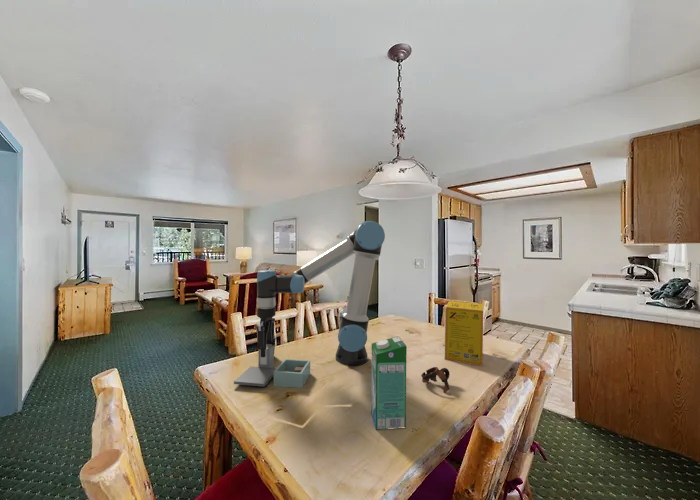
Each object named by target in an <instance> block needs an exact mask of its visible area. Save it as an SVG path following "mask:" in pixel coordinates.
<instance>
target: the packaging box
mask: <svg viewBox="0 0 700 500" xmlns="http://www.w3.org/2000/svg"><path fill="white" fill-rule="evenodd" d="M444 313H445V315H444V360H446V361H452V362H458V363H464V364H469V363H470V365H475V364H477V366H481V365H482V366H483V354H484V353H483V351H484V350H483V349H484V348H483V347H484V346H483V345H484V344H483V342H484V340H483V339H484V303H474V302H466V301H465V302H464V301H456V300H455V301H454V300H449V301H448V303H447V304H446V306H445V311H444Z"/></svg>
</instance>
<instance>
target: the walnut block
mask: <svg viewBox="0 0 700 500" xmlns="http://www.w3.org/2000/svg"><path fill="white" fill-rule="evenodd" d="M303 368H304V366H296V368H295V372H299V373H300V372H301V371H302V369H303Z"/></svg>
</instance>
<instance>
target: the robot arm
mask: <svg viewBox="0 0 700 500" xmlns="http://www.w3.org/2000/svg"><path fill="white" fill-rule="evenodd" d="M385 237H386V233H385V230H384V228H383V227H382V225H381V224H380V223H379V222H376V221H374V220H366V221H363V222H361V223H360V224H359V225H358V226H357V228H356V229H355V230H354V231H353V232H351V233H350V234H348V235H347V236H346V239H344V240H342V241H341V242H339V243H338V244H336V245H334V246H333V247H331V248H330V249H328V250H327V251H325V252H324V253H322V254H320V255H318V256H317V257H315V258H314V259H312V260H311V261H309V262H307V263H306V264H304V265H302V266H301V267H300V268H298V269H296V270H295V271H293V272H291V273H290V274H285V275H284V274H283V275H281V274H277V272H276V270H275V269H262V270H258V272H257V274H256V275H257V277H256V295H257V296H256V299H255V300H256V306H257V308H256V317H258V318H259V319H260V321H259V325H256V334H257V336H256V339H257V341H256V343H257V350H258V349H260V364H263V365H267V348H266V346H267V345H272V344H274V342H273V341H274V335H275V322H276V318H275V316H276V314H277V313H276V311H277V310H276V305H277V301H276V294H295V295H296V294H302V293H304V292H305V285H306V284H307V283H309V282H311V280H314V279H315V278H317V277H318V276H320V275H321V274H323V273H325V272H326V271H328V270H330V269H331V268H333V267H335V266H336V265H338V264H339V263H341V262H343V261H344V260H346V259H348V258H349V257H351V256H352V255H354V263H353V269H352V274H351V280H350V286H349V292H348V298H347V303H346V310H341V311H340V312H339V316H338V319H339V321H338V322H339V323H338V324H339V326H338V334H337V341H338V345H337V346H338V347H337V349H336V353H335V361H336V362H337V363H339V364H342V365H346V366H348V367H356V366H362V365H364V364H366V363H367V362H368V358H369V357H368V351H367V349H366V344H367V342H368V334H367V333H368V329H369V326H368V325H369V321H370V318H369V317H368V315H367V313H368V312H367V311H368V305H369V299H370V295H371V288H372V282H373V277H374V271H375V266H376V260H377V259H378V258H379V257H380V256H381V253H382V247H383V243H384V242H385Z"/></svg>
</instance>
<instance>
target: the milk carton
mask: <svg viewBox="0 0 700 500" xmlns="http://www.w3.org/2000/svg"><path fill="white" fill-rule="evenodd" d="M407 352H408V350H407V345H406V344H405V343H404V341H403V340H402V338H401V337H400V336H399V335H398V336H394V337H390V338H387V339H380V340H378V341H376V342H371V365H370V366H371V371H370V372H371V376H370V377H371V379H370V380H371V382H370V383H371V386H370V387H371V388H370V391H371V392H370V394H371V395H370V396H371V397H370V403H371V404H370V413H371V417H372V420H373V425H374V427H375V428H376V429H386V430H389V429H388V428H399V427H406V425H407V423H406V422H407V421H406V420H407V356H408V355H407ZM406 428H407V427H406ZM376 429H375V430H376Z"/></svg>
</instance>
